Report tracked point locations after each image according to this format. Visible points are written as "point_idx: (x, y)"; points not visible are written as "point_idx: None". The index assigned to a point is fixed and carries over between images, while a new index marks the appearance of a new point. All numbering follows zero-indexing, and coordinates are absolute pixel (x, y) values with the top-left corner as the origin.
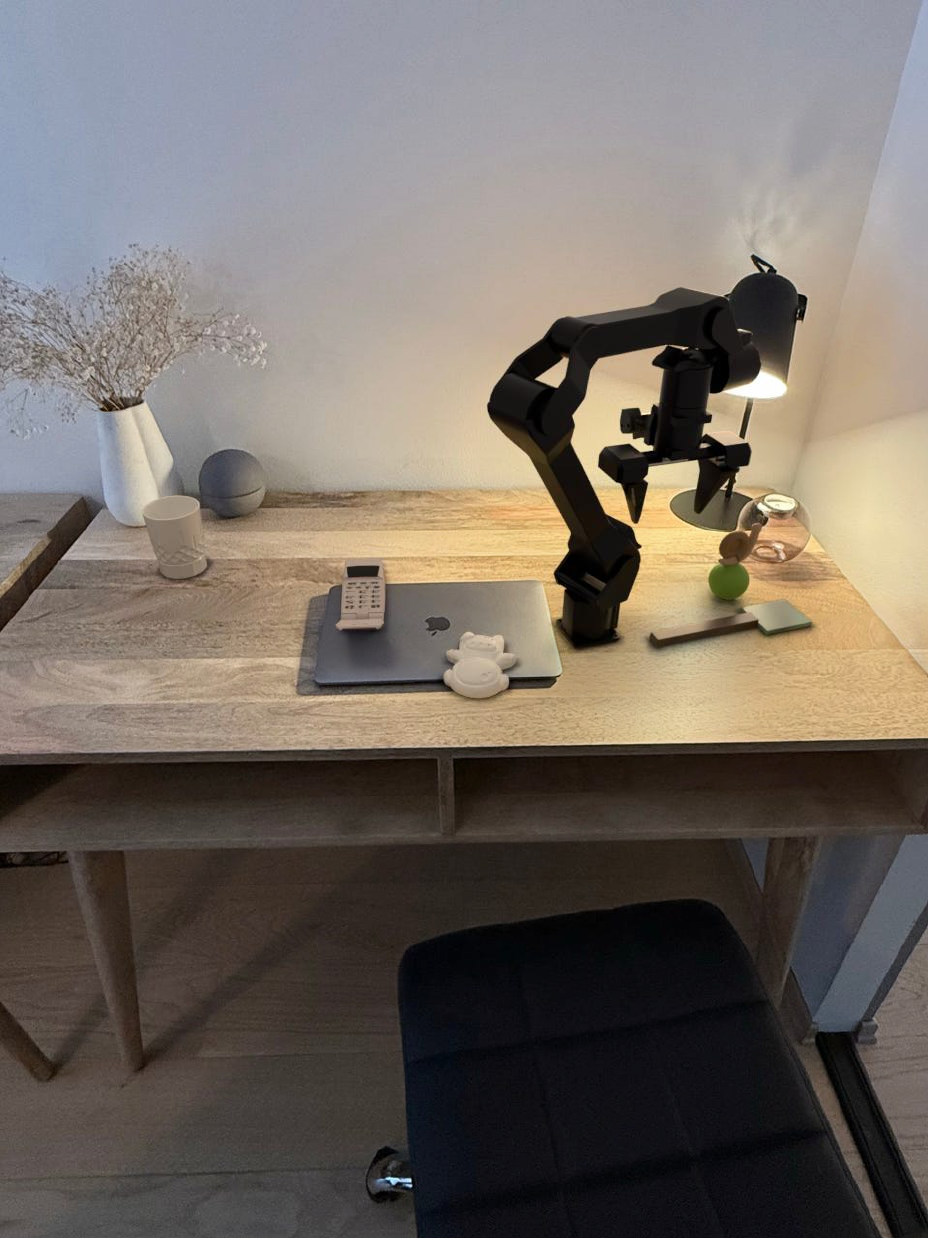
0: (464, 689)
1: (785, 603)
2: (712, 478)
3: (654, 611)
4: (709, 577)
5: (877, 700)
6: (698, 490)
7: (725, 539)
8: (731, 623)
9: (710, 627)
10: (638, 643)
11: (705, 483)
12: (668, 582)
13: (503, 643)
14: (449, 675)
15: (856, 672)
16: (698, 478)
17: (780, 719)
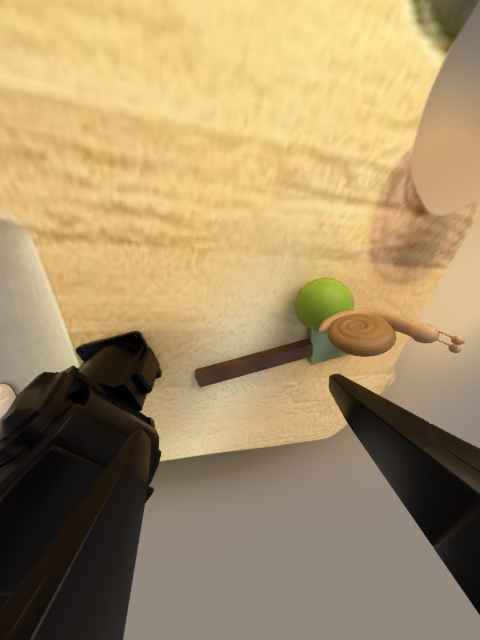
0: None
1: None
2: (460, 565)
3: (214, 322)
4: (300, 303)
5: (333, 418)
6: (386, 434)
7: (348, 352)
8: (283, 362)
9: (260, 368)
10: (182, 375)
11: (425, 496)
12: (254, 254)
13: (6, 407)
14: None
15: None
16: (442, 471)
17: (264, 437)
